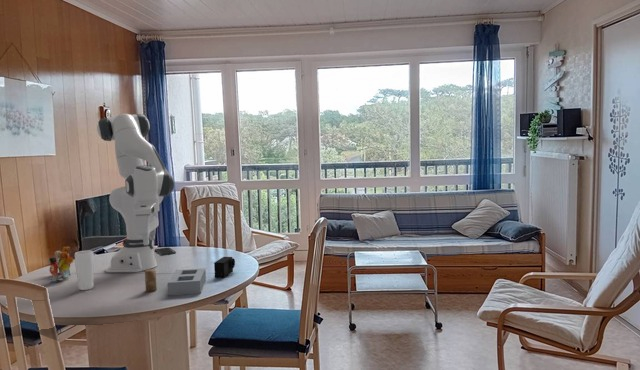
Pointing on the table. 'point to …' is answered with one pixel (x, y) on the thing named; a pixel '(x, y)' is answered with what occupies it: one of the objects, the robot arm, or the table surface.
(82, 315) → the table surface
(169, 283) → the socket block
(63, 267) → the doll family
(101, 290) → the table surface
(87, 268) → the drinking glass
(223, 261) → the digital camera
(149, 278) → the walnut dowel
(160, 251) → the phone
